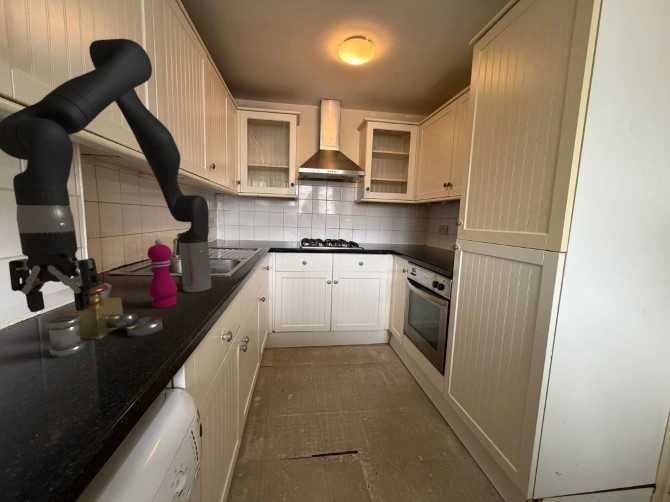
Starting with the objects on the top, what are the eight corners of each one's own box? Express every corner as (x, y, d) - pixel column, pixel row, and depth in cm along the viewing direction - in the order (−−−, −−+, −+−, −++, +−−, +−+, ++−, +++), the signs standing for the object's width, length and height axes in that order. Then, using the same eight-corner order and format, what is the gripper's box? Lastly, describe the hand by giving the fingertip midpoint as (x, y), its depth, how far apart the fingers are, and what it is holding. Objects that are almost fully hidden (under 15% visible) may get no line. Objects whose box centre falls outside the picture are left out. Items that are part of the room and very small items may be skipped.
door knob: (66, 345, 59) (61, 314, 58) (91, 344, 59) (87, 313, 58) (42, 358, 54) (36, 324, 53) (70, 357, 54) (64, 324, 53)
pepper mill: (173, 298, 89) (167, 237, 85) (182, 304, 84) (176, 239, 81) (147, 304, 83) (140, 239, 80) (155, 310, 79) (147, 241, 75)
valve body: (95, 324, 69) (89, 283, 67) (169, 322, 70) (165, 282, 69) (66, 339, 61) (59, 293, 60) (150, 337, 62) (145, 292, 61)
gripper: (102, 228, 57) (111, 303, 59) (28, 228, 56) (41, 304, 58) (70, 231, 49) (81, 316, 52) (-16, 231, 48) (0, 318, 51)
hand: (60, 310), depth 55 cm, fingers open, 8 cm apart
